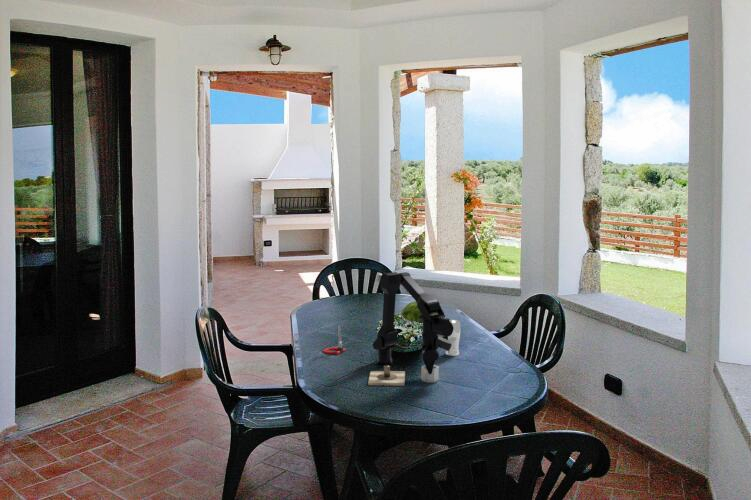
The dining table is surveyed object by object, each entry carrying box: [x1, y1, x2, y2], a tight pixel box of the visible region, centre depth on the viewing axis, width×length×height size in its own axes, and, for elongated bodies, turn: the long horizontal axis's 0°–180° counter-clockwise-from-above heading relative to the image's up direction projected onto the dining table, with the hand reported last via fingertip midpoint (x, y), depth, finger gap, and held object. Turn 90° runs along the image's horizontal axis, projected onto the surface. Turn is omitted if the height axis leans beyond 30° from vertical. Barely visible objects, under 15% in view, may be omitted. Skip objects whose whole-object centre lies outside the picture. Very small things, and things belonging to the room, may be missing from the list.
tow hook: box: [323, 324, 347, 355], centre depth 278 cm, size 8×13×9 cm
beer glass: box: [445, 319, 461, 357], centre depth 272 cm, size 7×7×15 cm
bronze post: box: [383, 364, 391, 378], centre depth 240 cm, size 2×2×4 cm
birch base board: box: [367, 370, 406, 387], centre depth 241 cm, size 14×14×1 cm
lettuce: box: [399, 300, 438, 323], centre depth 305 cm, size 18×23×19 cm
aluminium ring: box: [420, 364, 440, 384], centre depth 239 cm, size 7×7×5 cm
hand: (429, 370), depth 239 cm, fingers open, 9 cm apart
